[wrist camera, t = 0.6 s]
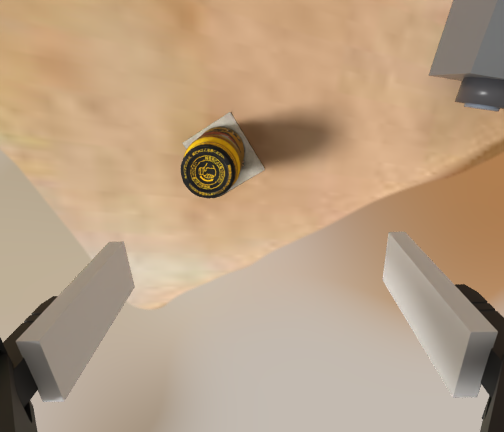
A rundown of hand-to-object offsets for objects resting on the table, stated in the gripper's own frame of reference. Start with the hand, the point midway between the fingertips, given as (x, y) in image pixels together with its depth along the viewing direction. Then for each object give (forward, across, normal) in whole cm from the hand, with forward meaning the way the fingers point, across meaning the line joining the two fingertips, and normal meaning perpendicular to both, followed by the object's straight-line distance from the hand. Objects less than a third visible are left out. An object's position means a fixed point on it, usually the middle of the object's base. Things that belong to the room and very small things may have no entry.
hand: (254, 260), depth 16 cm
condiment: (+27, -5, -1) cm, 28 cm away
